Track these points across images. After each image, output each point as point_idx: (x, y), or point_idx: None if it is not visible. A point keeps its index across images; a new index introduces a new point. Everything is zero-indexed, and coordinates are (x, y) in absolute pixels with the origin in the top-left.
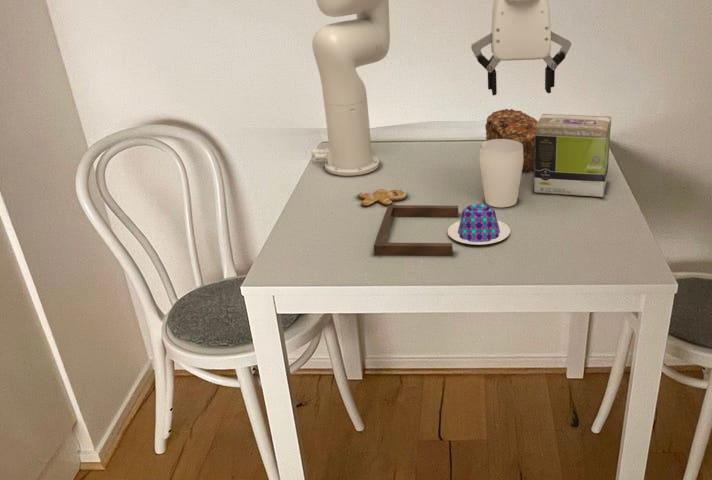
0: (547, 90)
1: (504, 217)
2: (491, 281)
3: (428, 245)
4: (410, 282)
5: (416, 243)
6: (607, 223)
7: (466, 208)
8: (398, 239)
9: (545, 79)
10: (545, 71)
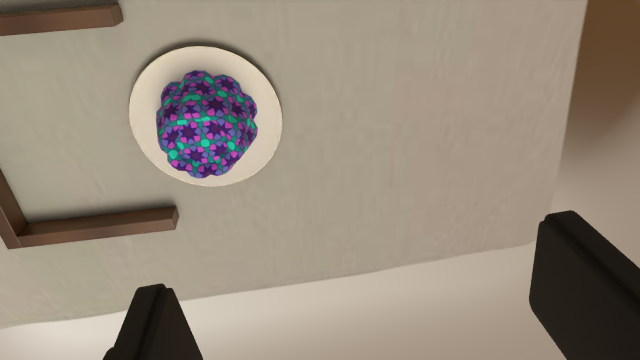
0: (540, 317)
1: (253, 8)
2: (271, 281)
3: (125, 234)
4: None
5: (96, 230)
6: (512, 20)
7: (167, 146)
8: (29, 165)
9: (583, 284)
10: (633, 332)
